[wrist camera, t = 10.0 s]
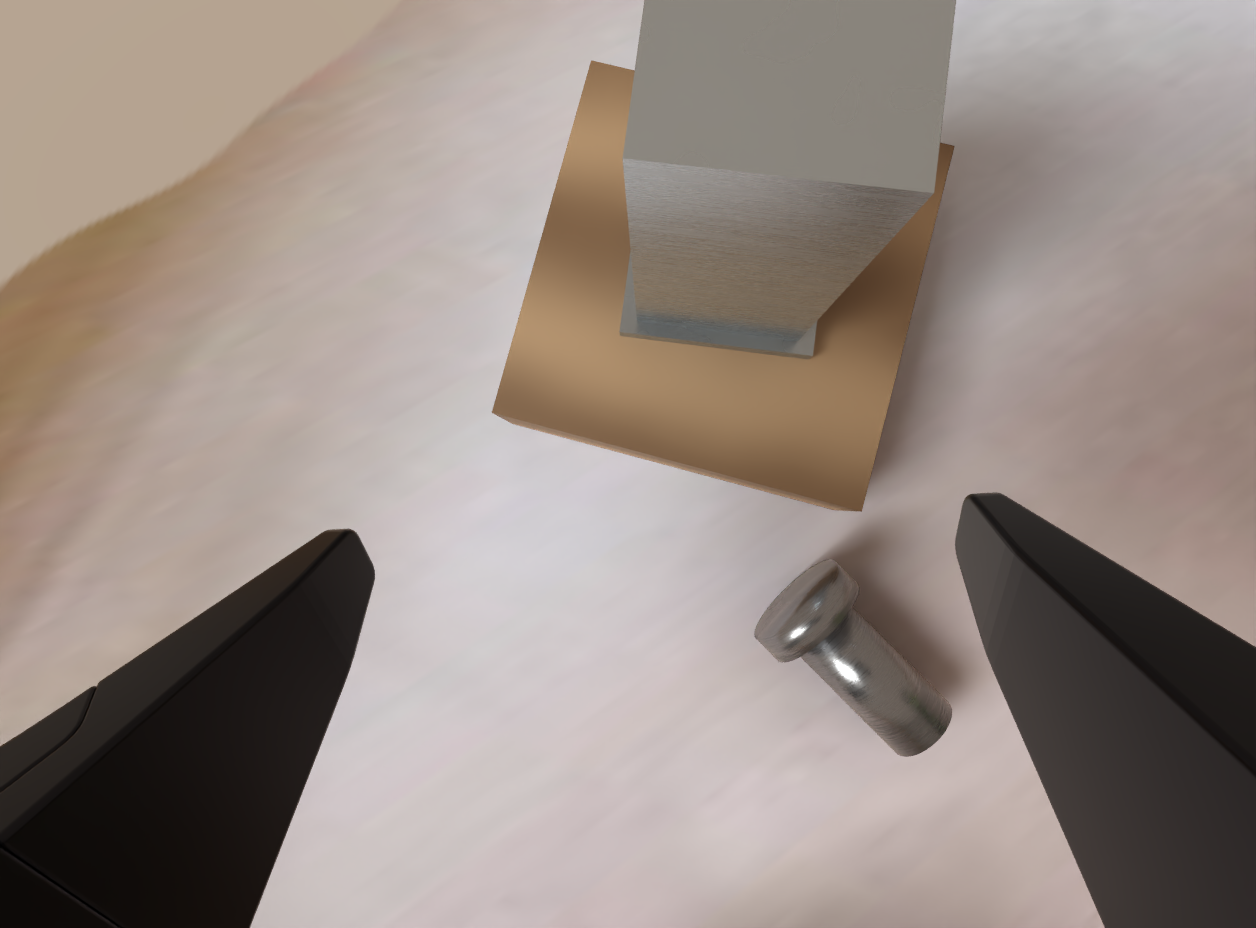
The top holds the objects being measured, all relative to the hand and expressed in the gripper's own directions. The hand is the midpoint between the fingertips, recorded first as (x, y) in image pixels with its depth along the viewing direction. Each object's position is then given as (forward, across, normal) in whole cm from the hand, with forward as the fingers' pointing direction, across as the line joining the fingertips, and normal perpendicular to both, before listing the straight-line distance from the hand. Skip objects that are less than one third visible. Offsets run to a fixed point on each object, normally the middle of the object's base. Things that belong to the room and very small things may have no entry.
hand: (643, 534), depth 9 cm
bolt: (+8, -5, +13) cm, 16 cm away
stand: (+15, -1, +3) cm, 16 cm away
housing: (+13, -2, +1) cm, 13 cm away
